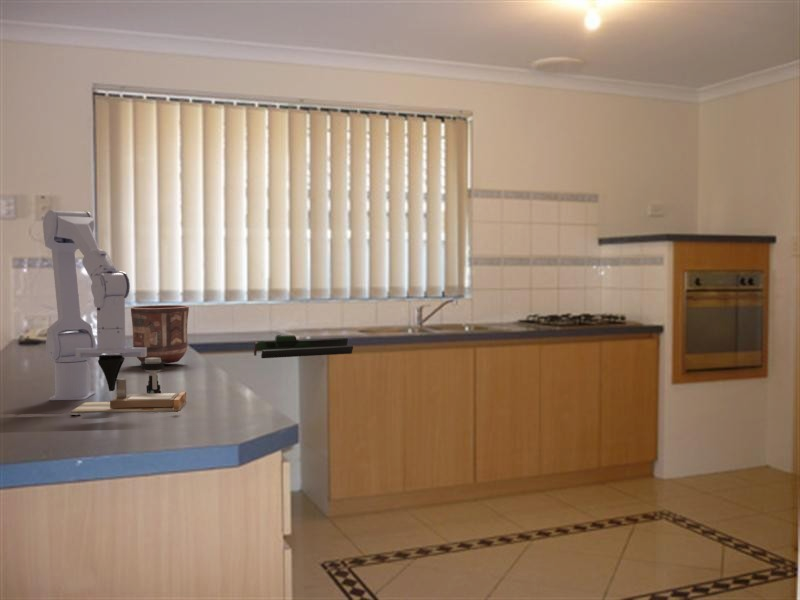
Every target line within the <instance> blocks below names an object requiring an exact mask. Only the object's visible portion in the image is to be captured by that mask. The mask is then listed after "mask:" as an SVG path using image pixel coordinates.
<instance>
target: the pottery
mask: <svg viewBox="0 0 800 600" xmlns="http://www.w3.org/2000/svg"><path fill="white" fill-rule="evenodd" d="M189 312H190V307H189V306H188V305H179V304H178V305H177V304H176V305H174V304H173V305H172V304H166V305H165V304H161V305H136V306H132V307H130V315H131V324H132V347H140V348H147V356H146V357H136V358H137V359H138V361H140V363H142V362H144V361H145V358H153V357H157V358H161V361H162V362H165V364H171V363H172V364H173V363H177V362H179V361H181V359H182V358H183V357H184V356H185V354H186V352H187V349H188V320H189V319H188V317H189ZM165 364H164V365H165Z"/></svg>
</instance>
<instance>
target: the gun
mask: <svg viewBox="0 0 800 600" xmlns="http://www.w3.org/2000/svg"><path fill="white" fill-rule="evenodd" d="M348 341H349V338H348V337H339V338H337V337H335V338H318V339H317V338H315V339H297V337H296V335H295V334H294V335H293V334H292V335H280V334H276V336H275V338H274V340H267V341H266V340H265V341H264V340H257V341H256V340H255V341H254V344H253V345H254V346H253V356H255V357H257V351H258V352H259V351H261V354H260V355H261V359H273V358H276V359H277V358H293V357H296V358H298V357H310V356H333V355H350V354H353V350H354V345H348V343H349V342H348Z"/></svg>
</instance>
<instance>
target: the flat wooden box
mask: <svg viewBox="0 0 800 600" xmlns="http://www.w3.org/2000/svg"><path fill="white" fill-rule="evenodd" d="M178 394H179V395H178V396H177V397H176V398H175V399H174V406H173V407H131V408H110V401H85V402H83V403H81V404H80V405H79V406H77V407H75V408H74V409H72V410H71V411H70V414H71V413H79V414H81V413H83V414H84V413H118V412H119V413H123V412H124V413H125V412H127V413H128V412H170V411H180V410H181V408H183V406H184V405H186V403H187V391H181V392H180V393H178Z"/></svg>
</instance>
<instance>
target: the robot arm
mask: <svg viewBox="0 0 800 600" xmlns="http://www.w3.org/2000/svg"><path fill="white" fill-rule="evenodd" d="M42 229H43V230H42V232H43V241H44V246H45V247H46V248H48V249H50V250H51V258H52V266H53V277H54V291H55V298H56V299H55V300H56V301H55V302H56V309H57V310H56V311H57V320H56V321H55V322H53V323H52V324H51V325H50V326H49V327H48V328H47V329H46V339H45V352H46V355H47V357H48V358H49V359H50V360H51V361H52V362H54V392H55V393H54V395H53V396H51V397H50V398H49V399H48V400H49V401H79V400H80V401H81V400H83V401H84V400H87V399H88V398H90V397H92V396H93V395H94V394H96V391H92V379H91V378H92V377H91V370H92V369H91V367H90V366H91V365H90V364H89V363H88V360H89V361H90V360H91V358H98V359H97V363H98V365H99V367H100V369H101V370H102V372H103V374H104V378H105V380H106V382H107V383H106V384H107V387H108V391H109V392H114V391H115V390H116V385H117V384H116V379H118V376H119V373H120V370H121V368H122V365H123V363H124V362H125V359H126V358H137V357H146V356H147V348H140V347H133V346H126V312H125V311H126V305H125V303H126V301H125V300H126V299H127V298H128V296H129V293H130V289H131V285H130V279H129V277H128V274H127V272H125V271H121V270H120V269H117V268H116V266H115V264H114V262H113V261H112V259H111V256H110V255H109V254H108V252H107V251H106V250H104V249H101V248H100V247H99V245H98V242H97V240H96V238H95V236H94V231H95V230H94V229H95V221H94V217H93V214H91V212H90V211H87V210H85V211H75V210H74V211H73V210H72V211H70V210H54V209H48V210H47V211H46V213H44V217H43V221H42ZM77 250H79V251H80V253H82V255H83V258H82V260H81V261H82V265H83V267H84V269H85V271H86V272H87V275H88V277H89V278H90V280H91V286H90V289H91V295H92V298H93V305H94V307H95V308H96V328H97V329H96V334H97V335H96V338H95V335H94V333H93V327H92V325H91V324H90V323H88V322H87V321H86V320H85V319H83V318H82V316H81V308H80V297H79V295H80V294H79V285H78V276H77V265H76V256H75V254H76V251H77ZM96 340H97V341H96ZM96 343H97V344H96Z"/></svg>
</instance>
